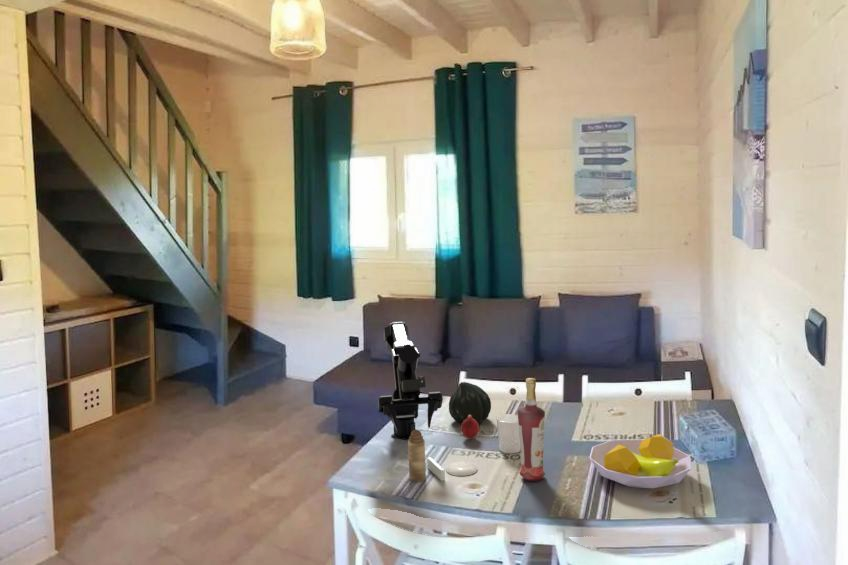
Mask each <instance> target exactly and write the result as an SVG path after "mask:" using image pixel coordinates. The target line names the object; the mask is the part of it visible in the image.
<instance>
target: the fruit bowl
mask: <svg viewBox="0 0 848 565" xmlns="http://www.w3.org/2000/svg"><path fill="white" fill-rule="evenodd" d="M589 460H590V461H591V463H592V464H593V466H594V468H596V470H597V471H598V473H599V474H600V475H601V477H604V478H606V479H608V480H611V481H613V482H616V483H619V484H621V485H624V486H627V487H628V488H629V487H630V488H639V489H640V488H643V489H657V488H661V487H666V486H670V485H675V484H679V483H681V481H682V480H683V479H684V478H685V476H686V475H687V474H688V473H689V472H690V471H691V469H692V461H691V456H690V455H689V454H687V453H685V452H683V451H682V450H680V449H678V448H677V447H674V443H673V441H671V440H669V439H668V438H667V437H665V436H664V435H662V434H661V433H658V434H656V435H653V436H650V437H647V438H644V439H639V438H637V439H611V440H608V441H605V442H602V443H599V444H596V445H593V446H592V448H591V450H590V455H589Z"/></svg>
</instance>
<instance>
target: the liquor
mask: <svg viewBox="0 0 848 565" xmlns="http://www.w3.org/2000/svg"><path fill="white" fill-rule="evenodd" d="M536 379H537V378H534V377H527V378H525V387H526V388H525V389H526V397H525V406H522V407H521V408H520V409H519V410H518V411H517V415H518V425H519V438H520V452H519V453H520V471H519V476H521V477H522V479H524V480H526V481H527V482H538V481H540V480H541V479H543V477H544V476H545V475H546V474H545V471H544V444H545V442H544V441H545V426H546V424H545V423H546V421H545V420H546V418H545V416H546V411H545V410H544V409H543V408H541V407H539V406H538V405H537V396H536V386H537V380H536Z"/></svg>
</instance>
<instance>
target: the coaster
mask: <svg viewBox="0 0 848 565" xmlns="http://www.w3.org/2000/svg"><path fill="white" fill-rule="evenodd" d="M445 471H446V473H448V474H450V475H452V476H456V477H466V476H467V477H469V476H471V475H474V474H476V473H477V472H478V466H477V465H476V464H475V463H473V462H467V461H455V462H453V463H452V462H451V463H449V464H447V466H446V468H445Z"/></svg>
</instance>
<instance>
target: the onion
mask: <svg viewBox="0 0 848 565" xmlns="http://www.w3.org/2000/svg"><path fill="white" fill-rule="evenodd" d="M460 431H461V433H462V435H463V437H465V438H466V439H469V440H472V439H473V438H475V437H476V436H477V435H478V434H479V431H480V425H479V424H478V423H477V421H476V420H475V419H473V418H472V416H471V415H469V416H468V418H467V419H465V420H464V421H463V423H461V425H460Z"/></svg>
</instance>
